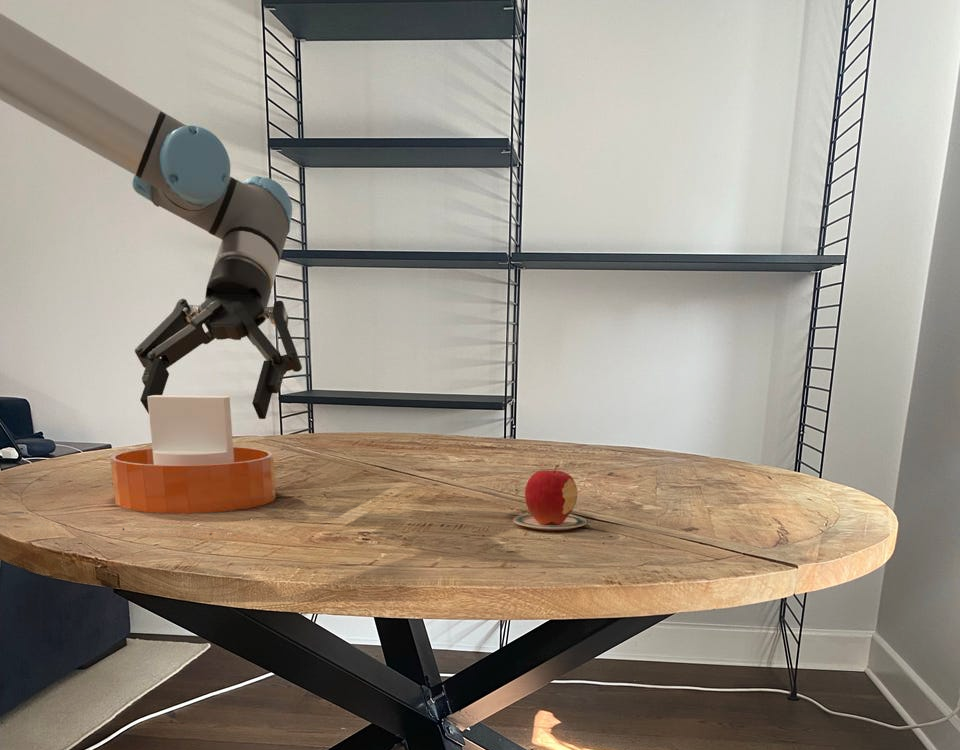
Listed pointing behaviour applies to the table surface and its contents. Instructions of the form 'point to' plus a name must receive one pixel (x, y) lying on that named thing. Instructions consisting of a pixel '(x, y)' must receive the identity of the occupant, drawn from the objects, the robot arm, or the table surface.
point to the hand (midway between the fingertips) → (202, 409)
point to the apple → (550, 502)
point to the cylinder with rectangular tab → (190, 429)
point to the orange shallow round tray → (193, 483)
